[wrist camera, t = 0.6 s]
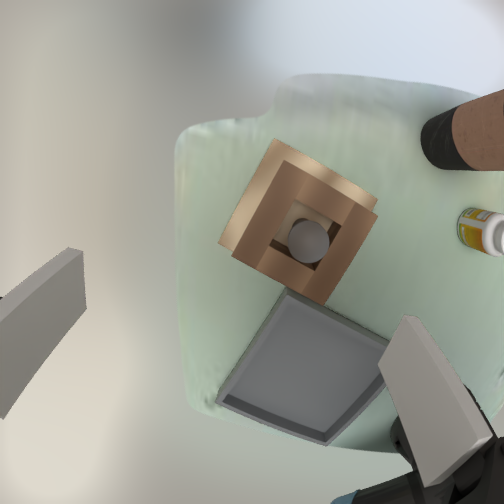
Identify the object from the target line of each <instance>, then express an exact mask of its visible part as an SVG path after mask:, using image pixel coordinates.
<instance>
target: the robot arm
mask: <svg viewBox="0 0 504 504" xmlns="http://www.w3.org/2000/svg"><path fill="white" fill-rule="evenodd" d="M86 309H87V308H86V297H85V283H84V263H83V251H80V250H77V249H73V248H69V247H68V248H67V249H65V250H64V251H62V252H61V253H59V254H58V255H57V256H55V257H54V258H53V259H51V260H50V261H49V262H47V263H46V264H45V265H43V266H42V267H41V268H39V269H38V270H37V271H35V272H34V273H33V274H32V275H30V276H29V277H28V278H26V279H25V280H24V281H23V282H21V283H20V284H19V285H18V286H16V287H15V288H14V289H13V290H11V291H10V292H9V293H8V294H7V295H5V296H4V297H0V418H2V419H4V418H5V416H6V415H7V413H8V412H9V410H10V409H11V407H12V406H13V404H14V403H15V402H16V400H17V399H18V397H19V396H20V394H21V393H22V391H23V390H24V389H25V387H26V386H27V384H28V383H29V382H30V380H31V379H32V377H33V376H34V374H35V373H36V372H37V371H38V369H39V368H40V367H41V365H42V364H43V363H44V361H45V360H46V359H47V357H48V356H49V355H50V354H51V352H52V351H53V350H54V348H55V347H56V346H57V345H58V343H59V342H60V341H61V339H62V338H63V337H64V336H65V334H66V333H67V332H68V331H69V330H70V328H71V327H72V326H73V325H74V323H75V322H76V321H77V320H78V319H79V318H80V316H81V315H82V314H83V313H84V312H85V310H86ZM378 367H379V369H380V371H381V374H382V376H383V378H384V381H385V383H386V385H387V388H388V390H389V393H390V395H391V398H392V400H393V402H394V405H395V407H396V410H397V413H398V415H399V416H398V418H397V419H396V420H395V422H394V424H393V426H392V429H391V439H392V442H393V445H394V447H395V449H396V450H397V451H398V452H399V453H400V454H401V455H402V456H403V457H404V458H405V459H406V460H407V461H408V462H409V463H410V464H411V466H412V468H413V471H412V472H409V473H407V474H405V475H402V476H400V477H397V478H394V479H392V480H389V481H386V482H384V483H381V484H378V485H375V486H372V487H369V488H366V489H363V490H356V491H355V492H353V493H350V494H347V495H344V496H341V497H338V498H336V499H335V500H333V501H332V502H331V504H504V437H500V438H499V439H498V437H497V436H496V434H495V432H494V430H493V428H492V427H491V425H490V423H489V421H488V419H487V418H486V416H485V414H484V412H483V411H482V410H480V408H481V407H480V406H479V404H478V402H476V399H475V397H474V396H473V394H472V393H471V391H470V390H469V389H468V388H467V387H466V386H465V385H464V384H463V383H462V381H461V380H460V378H459V377H458V375H457V374H456V372H455V370H454V369H453V367H452V366H451V364H450V363H449V361H448V360H447V358H446V357H445V355H444V354H443V352H442V351H441V349H440V348H439V347H438V345H437V344H436V342H435V341H434V339H433V338H432V336H431V335H430V334H429V332H428V331H427V329H426V328H425V327H424V325H423V324H422V322H421V321H420V320H419V318H418V317H415V316H408V315H403V317H402V319H401V321H400V323H399V325H398V327H397V329H396V331H395V333H394V335H393V337H392V339H391V341H390V343H389V345H388V346H387V348H386V350H385V352H384V354H383V355H382V357H381V359H380V361H379V363H378Z"/></svg>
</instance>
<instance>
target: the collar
mask: <svg viewBox="0 0 504 504" xmlns="http://www.w3.org/2000/svg"><path fill="white" fill-rule="evenodd" d="M295 199H297V200H299V201H300V202H302V203H304V204H306V205H307V206H309V207H311V208H313V209H314V210H316V211H318V212H319V213H321V214H323V215H325V216H326V217H328V218H330V219H331V220H333V222H332V224H331V226H330V228H329V229H328V231H327V234H328V236H329V248H328V251H327V253H326V254H325V256H324V257H323V258H322V259H320V260H319V261H317V262H314V263H303V262H300V261H298V260H297V259H295V258H294V257H293V256H292V254H291V253H290V251H289V248H288V247H287V246H285V245H283V244H282V243H280V242H278V241H276V240H274V239H273V237H274V236H275V234H276V232H277V230H278V229H279V227H280V225H281V223H282V222H283V220H284V218H285V216H286V214H287V213H288V211H289V209H290V207H291V206H292V204H293V202H294V200H295ZM377 217H378V216H377V215H376V214H374V213H373V212H371V211H369V210H368V209H366V208H365V207H363V206H362V205H360V204H359V203H357V202H355V201H354V200H352V199H351V198H349V197H347V196H346V195H344V194H342V193H341V192H339V191H338V190H336V189H334V188H333V187H331V186H329V185H328V184H326V183H324V182H323V181H321V180H319V179H317V178H316V177H314V176H312V175H310V174H309V173H307V172H305V171H303V170H302V169H300V168H298V167H296V166H294V165H293V164H291V163H289V162H287V161H285V160H283V162H282V164H281V166H280V168H279V169H278V171H277V173H276V175H275V177H274V178H273V180H272V182H271V184H270V186H269V187H268V189H267V191H266V193H265V195H264V197H263V198H262V200H261V202H260V204H259V206H258V207H257V209H256V211H255V213H254V215H253V217H252V218H251V220H250V222H249V224H248V226H247V228H246V229H245V231H244V233H243V235H242V237H241V239H240V240H239V242H238V244H237V246H236V248H235V250H234V252H233V253H232V255H231V256H232V257H234V258H236V259H237V260H239V261H241V262H243V263H245V264H247V265H248V266H250V267H252V268H254V269H256V270H257V271H259V272H261V273H263V274H265V275H267V276H268V277H270V278H272V279H274V280H276V281H278V282H279V283H281V284H283V285H285V286H287V287H289V288H291V289H292V290H294V291H296V292H298V293H300V294H302V295H303V296H305V297H307V298H309V299H311V300H313V301H315V302H316V303H318V304H320V305H322V306H323V305H324V304H325V302H326V301H327V299H328V298H329V296H330V295H331V293H332V292H333V290H334V289H335V287H336V285H337V284H338V282H339V281H340V279H341V278H342V276H343V274H344V273H345V271H346V270H347V268H348V266H349V265H350V263H351V262H352V260H353V258H354V257H355V255H356V253H357V252H358V250H359V248H360V247H361V245H362V243H363V242H364V240H365V238H366V236H367V235H368V233H369V231H370V230H371V228H372V226H373V224H374V223H375V221H376V219H377Z"/></svg>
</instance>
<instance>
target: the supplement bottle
mask: <svg viewBox="0 0 504 504" xmlns="http://www.w3.org/2000/svg"><path fill="white" fill-rule="evenodd" d="M457 230H458V236H459V238H460V240H461V241H462V242H463V243H464V244H465V245H467V246H469V247H471V248H474V249H476V250H479V251H481V252H484V253H486V254H489V255H491V256H494V257H498V256H501V255H504V215H503V214H501V213H497V212H492V211H487V210H481V209H476V208H469V209H467V210H465V211H464V212H463V213H462V214H461V216H460V218H459V221H458V227H457Z"/></svg>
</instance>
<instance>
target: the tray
mask: <svg viewBox="0 0 504 504" xmlns="http://www.w3.org/2000/svg"><path fill="white" fill-rule="evenodd" d="M389 343H390V341H388V340H386V339H384V338H383V337H381V336H379V335H377V334H375V333H373V332H371V331H369V330H367V329H365V328H364V327H362V326H360V325H358V324H356V323H354V322H352V321H350V320H349V319H347V318H345V317H343V316H341V315H339V314H337V313H335V312H334V311H332V310H330V309H328V308H326V307H324V306H322V305H320V304H318V303H316V302H315V301H313V300H311V299H309V298H307V297H305V296H303V295H302V294H300V293H298V292H296V291H294V290H292V289H291V288H289V287H287V286H286V288H285V289H284V291H283V293H282V294H281V296H280V297H279V299H278V301H277V302H276V304H275V305H274V307H273V309H272V310H271V312H270V313H269V315H268V317H267V318H266V320H265V321H264V323H263V324H262V326H261V327H260V329H259V331H258V332H257V334H256V335H255V337H254V338H253V340H252V341H251V343H250V344H249V346H248V348H247V349H246V351H245V352H244V354H243V355H242V357H241V358H240V360H239V361H238V363H237V364H236V366H235V367H234V369H233V370H232V372H231V373H230V375H229V376H228V378H227V379H226V381H225V382H224V383H223V385H222V386H221V388H220V389H219V391H218V394H217V397H216V400H215V403H216V404H219V405H221V406H223V407H225V408H227V409H229V410H232V411H234V412H236V413H238V414H241V415H243V416H245V417H247V418H250V419H252V420H255V421H257V422H259V423H262V424H264V425H267V426H269V427H272V428H275V429H277V430H280V431H282V432H285V433H288V434H291V435H293V436H296V437H299V438H302V439H305V440H308V441H311V442H314V443H317V444H320V445H323V446H328V445H329V444H330V443H331V442H332V441H333V440H334V439H335V438H336V437H337V436H339V435H340V434H341V433H342V432H343V431H344V430H345V429H346V428H347V427H348V426H349V425H350V424H351V423H352V422H353V421H354V420H355V419H356V418H357V417H358V416H359V415H360V414H361V413H362V412H363V411H364V410H365V409H366V408H367V407H368V405H369V404H370V403H371V402H372V401H373V400H374V399H375V398H376V397H377V396H378V395H379V393H380V392H381V391H382V390H383V389H384V388H385V387H386V386H387V385H386V383H385V381H384V378H383V376H382V374H381V371H380V369H379V367H378V363H379V361H380V359H381V357H382V355H383V354H384V352H385V350H386V348H387V346H388V345H389Z"/></svg>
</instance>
